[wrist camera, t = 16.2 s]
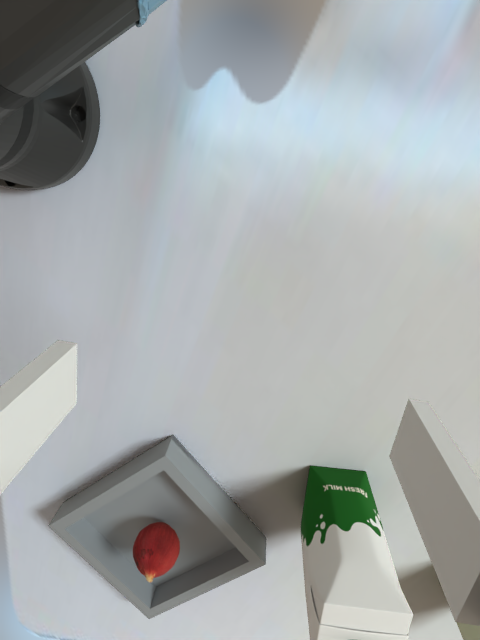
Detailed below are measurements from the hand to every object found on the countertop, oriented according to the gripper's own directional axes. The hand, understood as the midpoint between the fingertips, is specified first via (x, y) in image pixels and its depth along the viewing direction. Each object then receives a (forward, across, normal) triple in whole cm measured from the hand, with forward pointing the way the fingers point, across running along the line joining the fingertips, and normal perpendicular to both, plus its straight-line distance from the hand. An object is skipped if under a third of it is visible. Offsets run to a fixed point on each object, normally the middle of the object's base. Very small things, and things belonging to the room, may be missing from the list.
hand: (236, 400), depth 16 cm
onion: (+28, -7, -38) cm, 48 cm away
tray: (+29, -7, -38) cm, 48 cm away
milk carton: (+29, +14, -28) cm, 43 cm away
